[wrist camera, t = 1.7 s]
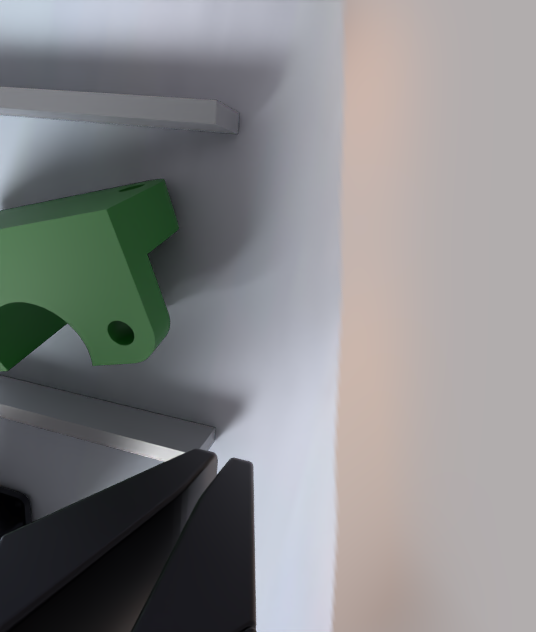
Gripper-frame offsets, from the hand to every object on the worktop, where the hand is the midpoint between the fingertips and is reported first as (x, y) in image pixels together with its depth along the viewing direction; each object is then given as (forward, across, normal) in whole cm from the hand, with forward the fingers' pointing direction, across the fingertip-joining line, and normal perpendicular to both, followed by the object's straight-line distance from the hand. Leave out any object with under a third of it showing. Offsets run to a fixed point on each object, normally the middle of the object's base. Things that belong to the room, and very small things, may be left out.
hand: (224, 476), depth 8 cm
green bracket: (+12, +12, 0) cm, 17 cm away
